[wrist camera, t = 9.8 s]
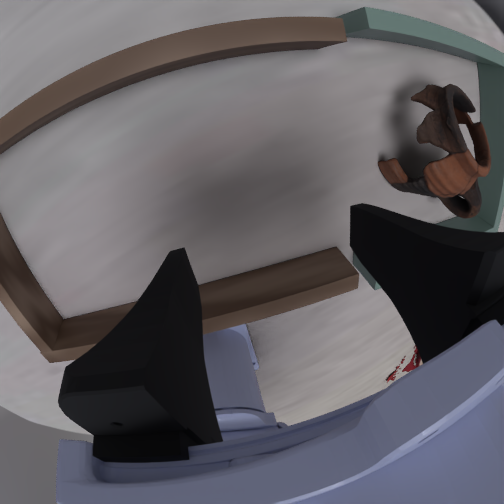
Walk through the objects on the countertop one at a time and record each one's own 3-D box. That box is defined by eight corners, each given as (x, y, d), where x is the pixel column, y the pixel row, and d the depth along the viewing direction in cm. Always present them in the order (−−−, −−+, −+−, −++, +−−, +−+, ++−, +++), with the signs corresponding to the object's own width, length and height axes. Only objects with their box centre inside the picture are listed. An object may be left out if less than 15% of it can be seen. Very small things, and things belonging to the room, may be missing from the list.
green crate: (475, 220, 26) (496, 235, 23) (353, 263, 25) (374, 290, 21) (481, 52, 14) (510, 56, 11) (333, 18, 13) (364, 6, 10)
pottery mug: (347, 144, 19) (431, 107, 11) (385, 90, 21) (448, 57, 13) (424, 245, 22) (499, 246, 14) (448, 179, 24) (509, 169, 16)
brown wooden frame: (336, 260, 24) (357, 288, 21) (59, 332, 22) (49, 363, 19) (313, 30, 13) (342, 18, 10) (-33, 161, 11) (-62, 178, 8)
